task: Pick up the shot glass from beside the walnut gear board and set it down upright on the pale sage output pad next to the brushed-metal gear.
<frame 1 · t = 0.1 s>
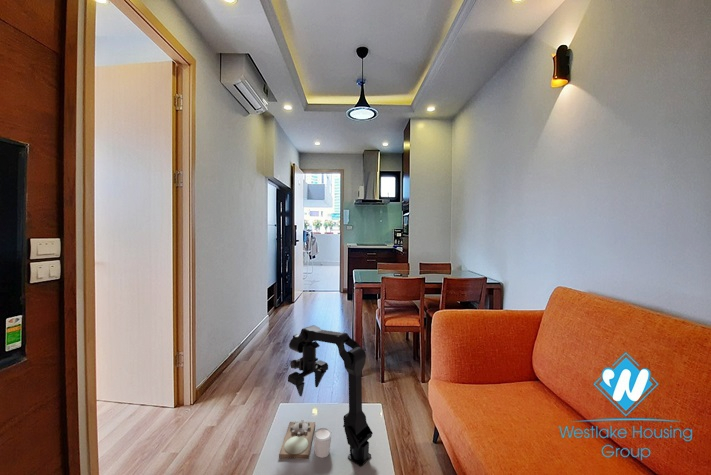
hand: (308, 391, 124), 15 cm above the table, fingers open, 9 cm apart
shot glass: (322, 452, 109), on the table
gear board: (298, 440, 114), on the table
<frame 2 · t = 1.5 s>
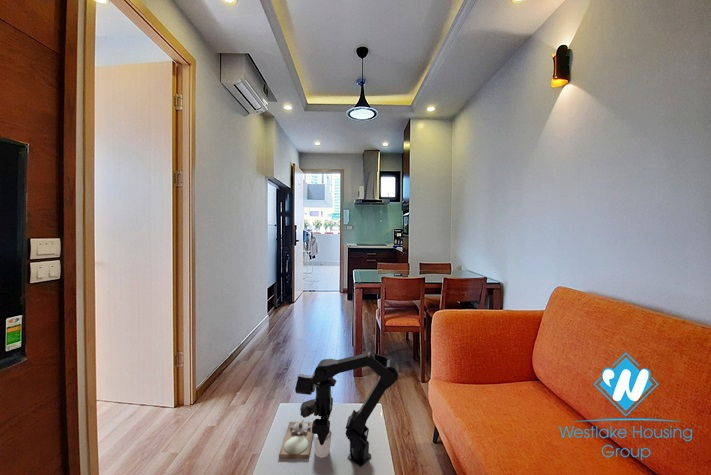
hand: (322, 435, 109), 6 cm above the table, fingers open, 9 cm apart
nothing on the table moved.
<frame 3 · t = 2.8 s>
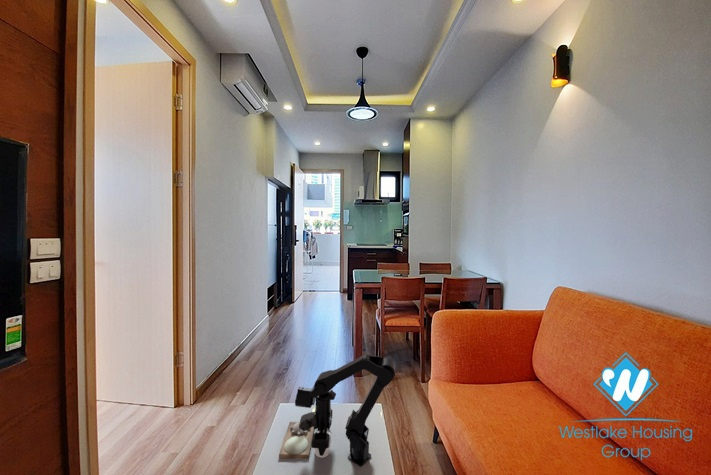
hand: (322, 448, 109), 1 cm above the table, fingers closed on shot glass, 6 cm apart
shot glass: (322, 452, 109), on the table, touching gripper
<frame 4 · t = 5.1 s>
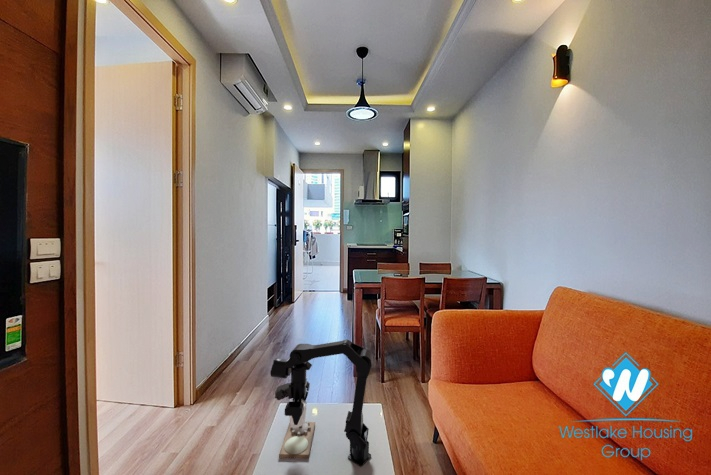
hand: (297, 419, 110), 12 cm above the table, fingers closed on shot glass, 6 cm apart
shot glass: (297, 422, 110), point 10 cm above the table, touching gripper
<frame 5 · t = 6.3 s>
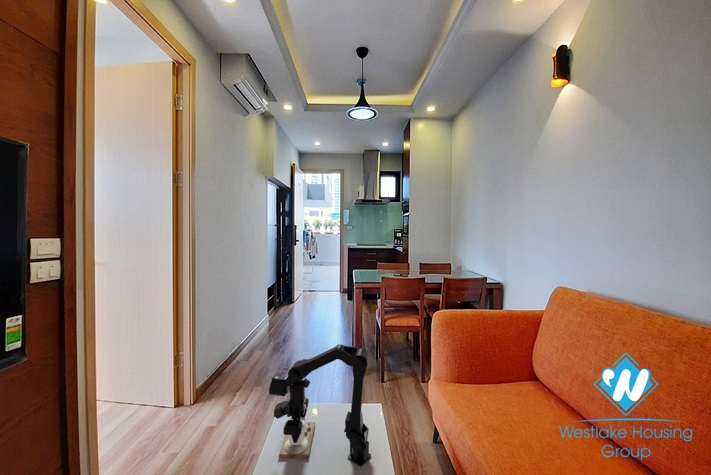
hand: (296, 436, 110), 5 cm above the table, fingers closed on shot glass, 6 cm apart
shot glass: (296, 440, 110), point 4 cm above the table, touching gripper
when the fingers open (4 cm above the table, at t = 7.4 s): shot glass stays where it is, resting on gear board.
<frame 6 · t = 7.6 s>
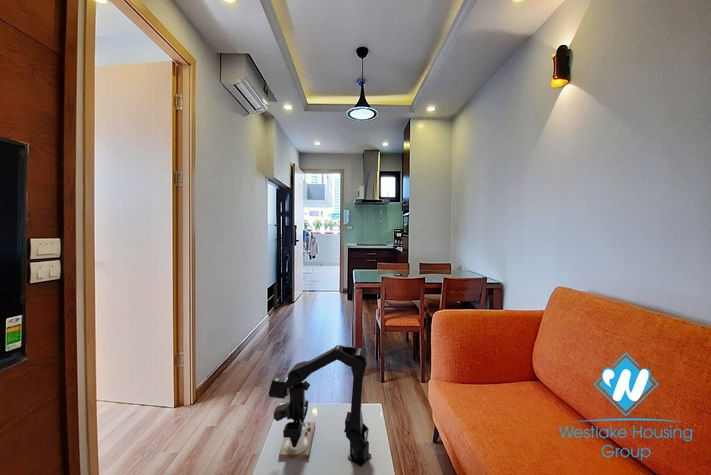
hand: (296, 438, 110), 4 cm above the table, fingers open, 8 cm apart
shot glass: (296, 445, 110), point 2 cm above the table, touching gear board
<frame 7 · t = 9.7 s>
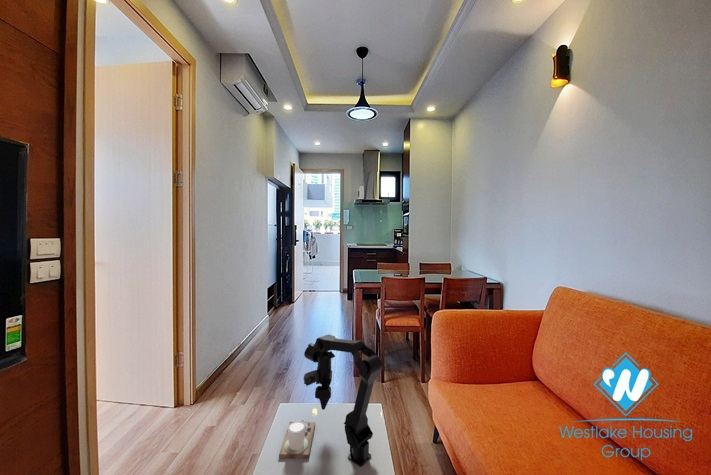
hand: (323, 402, 120), 12 cm above the table, fingers open, 9 cm apart
nothing on the table moved.
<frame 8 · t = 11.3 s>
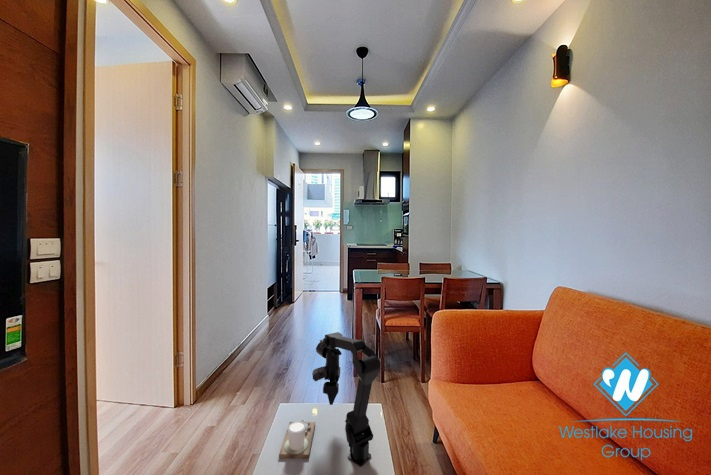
hand: (331, 398, 123), 12 cm above the table, fingers open, 9 cm apart
nothing on the table moved.
at the end: shot glass 0.0 cm from the target spot, point 1.6 cm above the table; shot glass tilted 0°; the gripper is holding nothing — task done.
